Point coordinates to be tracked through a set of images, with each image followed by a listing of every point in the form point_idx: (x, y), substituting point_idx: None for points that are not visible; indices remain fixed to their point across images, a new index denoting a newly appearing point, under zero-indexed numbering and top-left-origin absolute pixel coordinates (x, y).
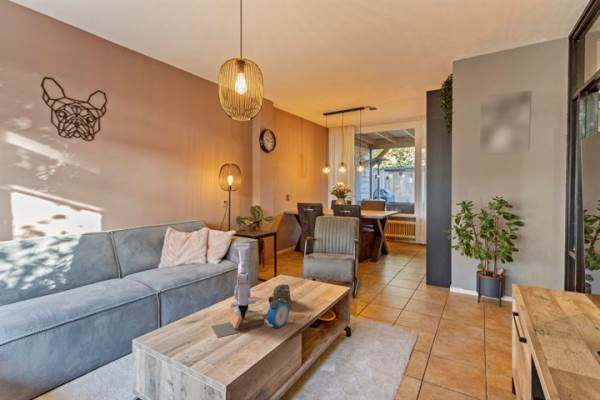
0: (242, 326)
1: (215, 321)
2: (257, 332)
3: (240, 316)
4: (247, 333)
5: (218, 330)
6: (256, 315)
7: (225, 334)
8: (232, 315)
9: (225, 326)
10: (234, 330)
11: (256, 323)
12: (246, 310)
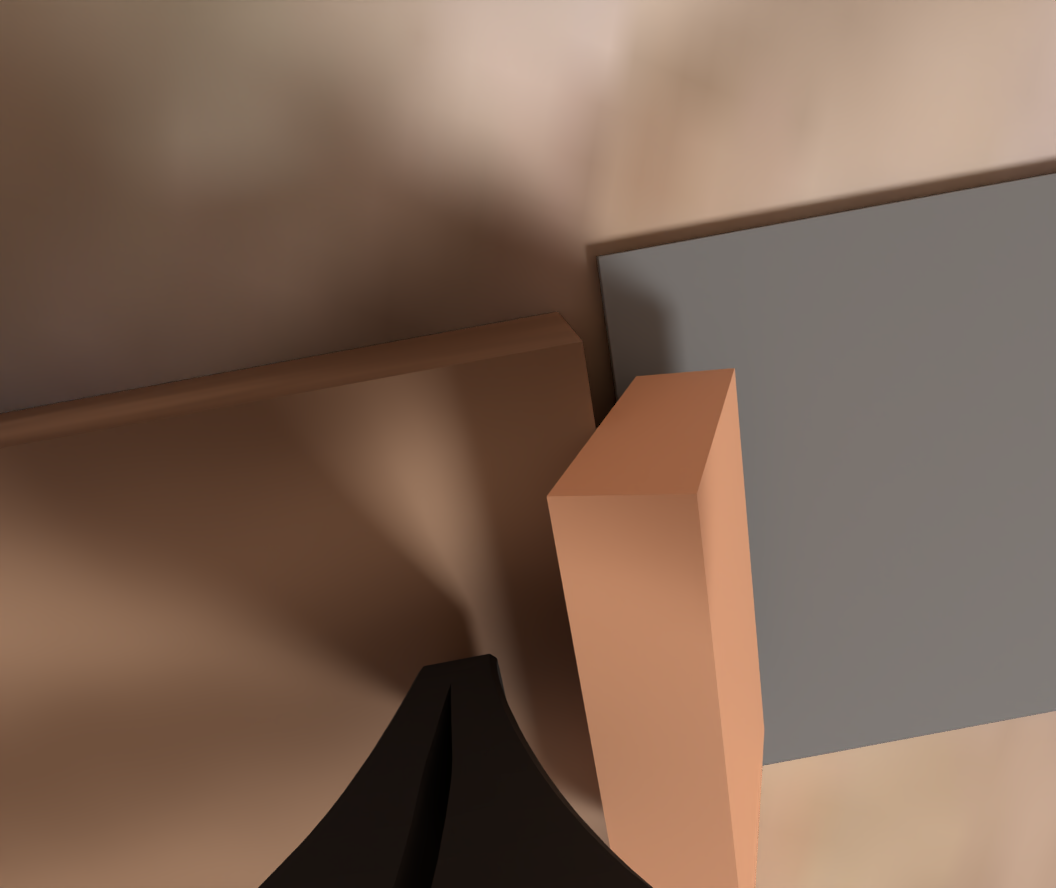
0: (525, 337)
1: (967, 862)
2: (126, 98)
3: (577, 653)
4: (409, 136)
5: (1042, 482)
6: (35, 770)
7: (955, 239)
8: (756, 860)
9: (855, 616)
10: None
11: (87, 417)
12: (290, 862)
